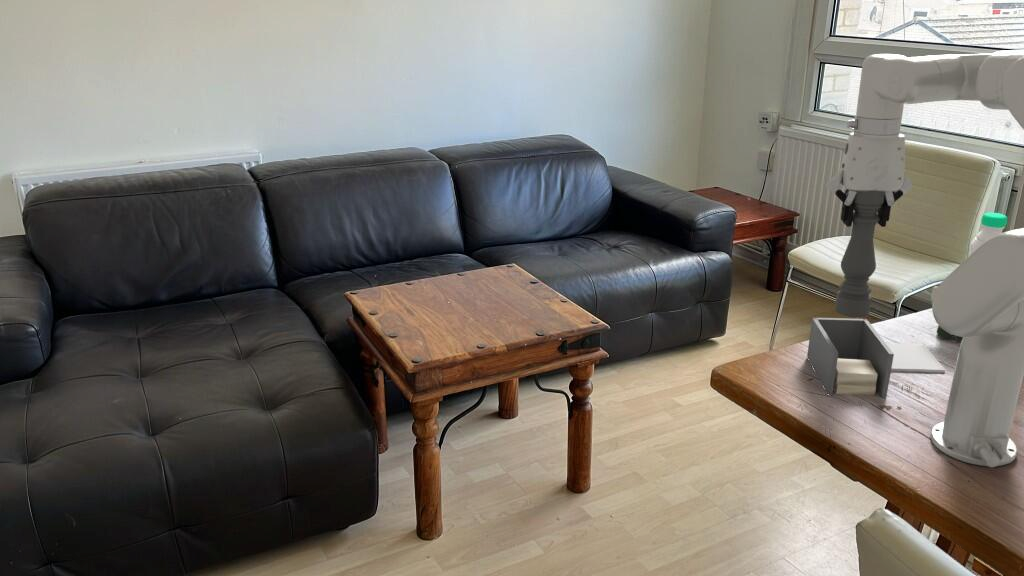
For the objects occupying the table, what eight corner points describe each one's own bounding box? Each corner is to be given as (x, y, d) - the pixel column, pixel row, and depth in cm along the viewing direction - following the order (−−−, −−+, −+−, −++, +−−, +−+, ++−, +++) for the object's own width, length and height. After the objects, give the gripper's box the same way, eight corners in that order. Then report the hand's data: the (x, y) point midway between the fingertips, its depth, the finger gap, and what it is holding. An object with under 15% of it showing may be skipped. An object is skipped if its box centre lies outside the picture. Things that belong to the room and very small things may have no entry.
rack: (886, 397, 152) (893, 354, 148) (827, 395, 153) (834, 352, 149) (860, 359, 166) (866, 318, 163) (807, 357, 167) (812, 317, 164)
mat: (944, 372, 160) (945, 369, 160) (881, 370, 162) (882, 368, 161) (922, 346, 172) (922, 343, 171) (863, 344, 173) (863, 342, 172)
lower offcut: (874, 397, 153) (876, 386, 152) (835, 396, 154) (837, 384, 153) (864, 382, 159) (866, 371, 158) (827, 381, 159) (829, 370, 158)
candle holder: (874, 317, 154) (893, 188, 145) (841, 317, 154) (858, 188, 145) (861, 305, 160) (879, 180, 151) (830, 305, 160) (846, 180, 151)
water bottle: (998, 324, 181) (1022, 217, 172) (974, 330, 179) (998, 221, 170) (970, 313, 187) (992, 208, 178) (948, 318, 185) (969, 212, 176)
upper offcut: (875, 386, 152) (877, 374, 151) (836, 384, 153) (838, 372, 152) (867, 371, 157) (869, 360, 156) (829, 369, 158) (831, 358, 157)
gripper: (833, 130, 142) (821, 230, 148) (935, 130, 140) (919, 230, 147) (822, 123, 149) (811, 219, 155) (919, 123, 147) (904, 219, 154)
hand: (864, 223), depth 151 cm, fingers closed on candle holder, 5 cm apart
